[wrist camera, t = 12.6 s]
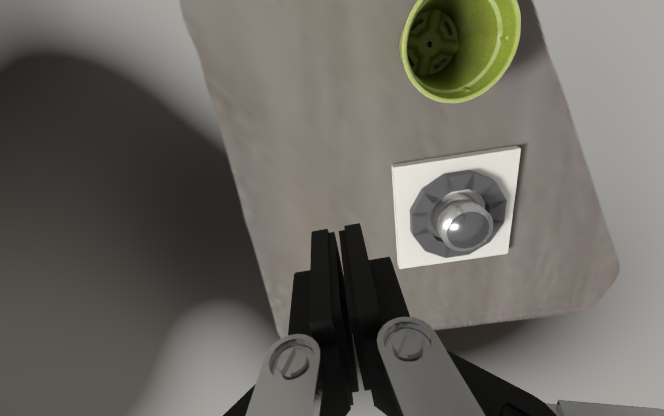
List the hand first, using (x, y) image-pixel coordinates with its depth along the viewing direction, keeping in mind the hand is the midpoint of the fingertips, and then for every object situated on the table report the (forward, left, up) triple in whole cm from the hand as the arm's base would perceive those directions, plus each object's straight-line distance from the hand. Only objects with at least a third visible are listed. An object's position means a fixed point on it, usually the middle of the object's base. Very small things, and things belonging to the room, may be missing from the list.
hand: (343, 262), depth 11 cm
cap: (+14, +14, -26) cm, 33 cm away
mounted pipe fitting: (+14, +15, -27) cm, 34 cm away
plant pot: (-6, +12, -28) cm, 31 cm away
